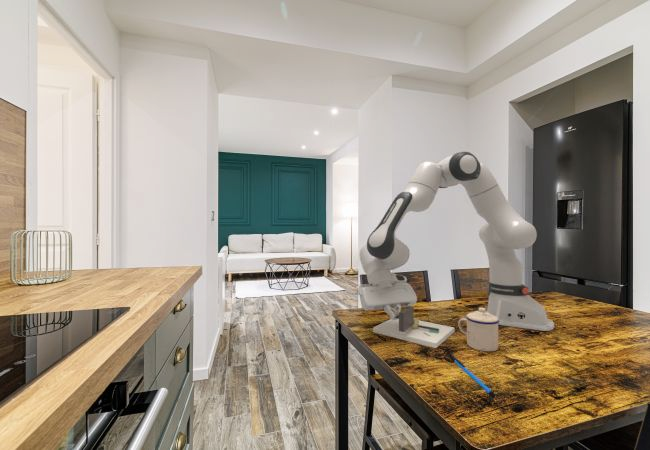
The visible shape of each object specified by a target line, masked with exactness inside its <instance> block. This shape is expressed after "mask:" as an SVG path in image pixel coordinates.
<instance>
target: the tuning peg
mask: <svg viewBox="0 0 650 450" xmlns="http://www.w3.org/2000/svg"><path fill="white" fill-rule="evenodd" d="M419 320H420V319H419V318H418V317H414V306H406V307H405V308H403V309H402V310H401V311H400V312H399V331H401V332H405V331H406V330H407V329H408V328H410V327H411V328H425V329H430V330H435V331H439V329H438V328H432V327H427V326H422V325H419Z"/></svg>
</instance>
